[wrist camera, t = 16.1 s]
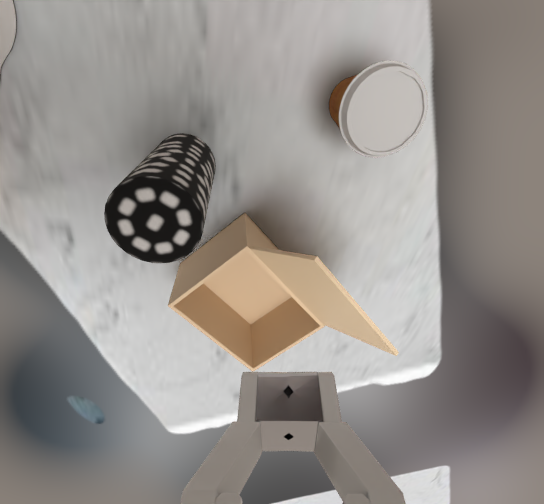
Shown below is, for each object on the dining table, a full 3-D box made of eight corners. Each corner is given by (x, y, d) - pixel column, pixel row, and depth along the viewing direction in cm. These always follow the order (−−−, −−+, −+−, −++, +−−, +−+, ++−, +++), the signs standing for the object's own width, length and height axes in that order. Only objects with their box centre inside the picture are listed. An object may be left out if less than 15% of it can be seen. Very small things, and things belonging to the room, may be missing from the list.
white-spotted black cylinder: (173, 120, 43) (131, 155, 26) (226, 157, 46) (221, 211, 29) (144, 171, 46) (88, 233, 28) (196, 203, 49) (174, 277, 31)
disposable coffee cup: (399, 80, 43) (451, 84, 33) (364, 149, 47) (400, 172, 37) (337, 49, 41) (371, 42, 30) (305, 124, 45) (326, 141, 34)
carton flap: (396, 355, 37) (398, 352, 37) (314, 260, 30) (317, 256, 30) (323, 324, 48) (325, 321, 49) (249, 248, 41) (252, 245, 41)
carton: (250, 324, 61) (252, 371, 52) (180, 263, 54) (167, 305, 44) (310, 283, 58) (324, 326, 49) (244, 212, 50) (247, 246, 41)
